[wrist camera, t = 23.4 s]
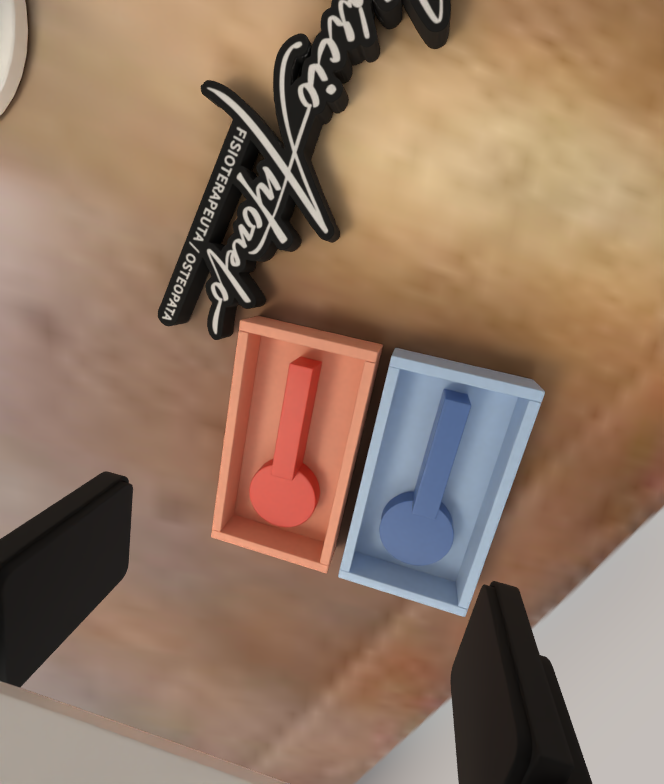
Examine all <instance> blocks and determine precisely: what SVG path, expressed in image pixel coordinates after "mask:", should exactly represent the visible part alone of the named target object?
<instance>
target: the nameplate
mask: <svg viewBox="0 0 664 784" xmlns="http://www.w3.org/2000/svg"><path fill="white" fill-rule="evenodd" d="M402 5H403V6H404V8H405V9H406V11H407V13H408V15H409V17H410V19H411V21H412V23H413V24H414V26H415V28H416V30H417V31H418V33H419V35H420V36H421V38H422V39H423V41H424V42H425V43H426V44H427V46H428V47H430V48H433V49H438V48H440V47H442V46H444V45H445V43H446V42H447V39H448V35H449V25H450V12H451V3H450V0H332V3H331V7H330V8H329V9H327V10H326V11H325V12H324V13H323V15H322V18H321V32H320V33H319V34H318V35H317V36H316V38H315V40H314V42H313V44H312V45H311V43H310V41H309V39H308V37H307V36H306V35H304V34H297V35H294V36H292V37H290V38H289V39H288V40H287V41H286V42H285V43H284V44H283V45H282V47H281V48H280V50H279V52H278V54H277V57H276V61H275V66H274V77H273V91H274V102H275V109H276V115H277V120H278V124H279V129H280V132H281V136H282V139H283V143H284V145H283V144H282V142H281V141H280V140H279V138H278V137H277V136H276V135H275V133H274V132H273V131H272V130H271V128H270V127H269V126H268V125H267V124H266V123H265V121H264V120H263V119H262V118H261V117H260V116H259V115H258V114H257V113H256V112H255V111H254V110H253V109H252V108H251V107H250V106H249V105H248V104H247V103H246V102H245V101H244V100H243V99H241V98H240V97H239V96H238V95H237V94H236V93H234V92H233V91H232V90H230V89H229V88H227V87H226V86H224V85H222V84H220V83H218V82H215V81H211V80H207V81H205V82H204V84H203V85H201V92H202V94H203V95H204V96H206V97H207V98H208V99H209V100H210V101H212V102H213V103H214V104H215V105H217V106H218V107H220V108H222V109H223V110H224V111H225V112H226V113H227V114H229V115H230V116H231V117H232V119H233V121H232V124H231V126H230V129H229V131H228V133H227V136H226V139H225V141H224V144H223V146H222V149H221V151H220V154H219V157H218V159H217V162H216V164H215V167H214V169H213V172H212V174H211V177H210V180H209V182H208V185H207V187H206V190H205V192H204V195H203V198H202V200H201V203H200V205H199V208H198V210H197V213H196V215H195V218H194V221H193V223H192V226H191V228H190V231H189V233H188V236H187V239H186V241H185V244H184V246H183V249H182V251H181V254H180V257H179V259H178V262H177V264H176V267H175V269H174V272H173V274H172V277H171V280H170V282H169V285H168V287H167V290H166V292H165V295H164V298H163V300H162V303H161V305H160V307H159V310H158V318H159V320H160V321H161V322H162V323H163V324H164V325H166V326H173V325H178V324H183V323H186V322H188V321H189V319H190V317H191V315H192V312H193V310H194V307H195V305H196V302H197V300H198V297H199V295H200V293H201V290H202V288H203V285H204V283H205V281H206V278H207V276H208V274H209V271H210V273H211V278H210V279H209V280H208V281H207V283H206V292H207V295H208V297H209V299H210V300H211V302H212V305H211V308H210V311H209V315H208V321H207V327H208V331H209V334H210V336H211V337H212V338H213V339H214V340H219V339H222V338H225V337H229V336H231V335H232V334H233V327H234V320H235V313H236V309H237V305H241V306H242V307H243V308H246V309H250V308H255V307H260V306H263V305H264V304H265V302H266V298H265V296H264V294H263V293H262V291H261V290H260V288H259V287H258V285H257V284H256V283H255V281H254V280H253V279H252V277H251V276H250V275H249V273H250V272H253V271H254V269H255V267H256V261H260V262H265V261H268V260H270V259H271V258H272V257H273V256H274V254H275V253H276V251H277V249H280V250H284V251H290V252H292V251H295V250H296V249H298V248H299V246H300V245H301V238H300V236H299V234H298V233H297V231H296V230H295V229H294V227H293V226H292V224H291V223H290V218H291V217H292V214H293V211H294V208H295V205H297V206H298V208H299V209H300V210H301V212H302V213H303V215H304V216H305V218H306V219H307V221H308V222H309V224H310V225H311V227H312V228H313V229H314V230H315V232H316V233H317V234H318V236H319V237H320V238H321V239H323V240H326V241H328V242H335V241H337V240H338V239H339V237H340V231H339V228H338V226H337V225H336V222H335V219H334V217H333V215H332V212H331V210H330V207H329V205H328V202H327V200H326V198H325V196H324V193H323V191H322V188H321V186H320V183H319V180H318V178H317V175H316V173H315V170H314V167H313V165H312V162H311V158H312V155H313V152H314V149H315V146H316V143H317V140H318V138H319V135H320V132H321V129H322V126H323V125H324V124H327V123H329V121H330V120H331V118H332V114H333V112H334V113H340V112H342V111H344V110H345V108H346V107H347V105H348V96H347V94H346V91H345V89H344V87H343V85H342V84H343V83H346V82H348V81H349V80H350V79H351V77H352V65H357V64H360V63H362V62H363V60H366V61H367V62H374V61H376V60H377V59H378V57H379V54H380V46H379V41H378V36H377V31H376V27H375V23H374V20H375V15H374V13H375V14H376V16H377V18H378V19H379V21H380V22H381V24H382V25H383V26H384V27H385V28H386V29H392V28H394V27H396V26H397V25H398V24H399V23H400V22H401V20H402ZM259 152H260V153H261V154H262V155H263V157H264V158H265V159H264V160H261V161H260V162H259V163H258V164H257V166H256V169H257V172H258V174H259V176H258V177H257V175H256V174H255V173H254V172H252V168H253V166H254V164H255V161H256V159H257V156H258V154H259ZM242 194H243V195H244V197H245V198H246V200H245V201H243V202H242V203H241V204H240V205H239V207H238V210H237V219H236V220H235V221H234V223H233V231H234V233H233V234H232V235H231V236H230V237H229V239H228V241H227V245H223V244H221V242H222V240H223V238H224V235H225V233H226V230H227V228H228V226H229V223H230V221H231V219H232V216H233V214H234V211H235V209H236V207H237V204H238V202H239V199H240V197H241V195H242Z"/></svg>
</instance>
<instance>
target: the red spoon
mask: <svg viewBox="0 0 664 784" xmlns="http://www.w3.org/2000/svg"><path fill="white" fill-rule="evenodd" d="M321 366H322V361H318V360H314V359H310V358H306V357H302V356H300V357H299V358H297V359H295V360H294V361H292V362H291V363H290V364H289V369H288V375H287V381H286V387H285V393H284V399H283V405H282V410H281V416H280V422H279V428H278V434H277V440H276V446H275V452H274V458H273V459H271V460H269V461H268V462H266V463H265V464H264V465H263V466H262V467H261V468H260V469H259V470H258V471H257V472H256V474H255V475H254V476H253V478H252V480H251V483H250V488H249V495H250V500H251V503H252V505H253V507H254V509H255V511H256V512H257V513H258V514H259V515H260V516H261V517H262V518H263V519H264V520H265V521H267V522H268V523H270V524H272V525H275V526H279V527H285V528H289V527H295V526H298V525H301V524H303V523H304V522H306V521H307V520H308V519H309V518H310V517H311V515H312V514H313V512H314V510H315V508H316V506H317V504H318V501H319V497H320V487H319V483H318V480H317V478H316V476H315V474H314V473H313V472H312V470H311V469H310V468H309V467H308V466H306V465H305V464H304V463H303V460H304V455H305V449H306V444H307V439H308V434H309V429H310V423H311V418H312V413H313V408H314V403H315V397H316V392H317V387H318V382H319V377H320V371H321Z"/></svg>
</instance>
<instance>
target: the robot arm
mask: <svg viewBox="0 0 664 784" xmlns="http://www.w3.org/2000/svg"><path fill="white" fill-rule="evenodd" d="M27 40H28V24H27V10H26V2H25V0H0V115H1V114H2V113H3V112H4V111H5V109H6V108H7V106H8V105H9V103H10V102H11V100H12V98H13V97H14V95H15V92H16V90H17V87H18V85H19V82H20V80H21V77H22V74H23V69H24V64H25V60H26V55H27ZM132 495H133V487H132V485H131V484H129V481H128V478H127V477H125V476H122V475H118V474H114V473H111V472H103V473H101V474H99V475H98V476H96V477H95V478H93V479H92V480H90V481H89V482H87V483H85V484H84V485H82V486H81V487H79V488H78V489H76V490H75V491H73V492H72V493H70V494H69V495H67V496H66V497H64V498H63V499H61V500H59V501H58V502H56V503H55V504H53V505H52V506H50V507H49V508H47V509H46V510H44V511H43V512H41V513H40V514H38V515H37V516H35V517H33V518H32V519H30V520H29V521H27V522H26V523H24V524H23V525H21V526H20V527H18V528H17V529H15V530H14V531H12V532H11V533H9V534H7V535H6V536H4V537H3V538H1V539H0V784H289V783H286V782H284V781H281V780H278V779H275V778H273V777H270V776H267V775H264V774H262V773H259V772H256V771H253V770H251V769H248V768H245V767H242V766H240V765H237V764H234V763H231V762H228V761H226V760H223V759H220V758H217V757H215V756H212V755H209V754H206V753H203V752H201V751H198V750H195V749H192V748H189V747H187V746H184V745H181V744H178V743H175V742H173V741H170V740H167V739H164V738H161V737H159V736H156V735H153V734H150V733H147V732H145V731H142V730H139V729H136V728H133V727H131V726H128V725H125V724H122V723H119V722H117V721H114V720H111V719H108V718H105V717H102V716H99V715H97V714H94V713H91V712H88V711H85V710H82V709H79V708H77V707H74V706H71V705H68V704H65V703H62V702H59V701H57V700H54V699H51V698H48V697H45V696H42V695H40V694H37V693H34V692H31V691H28V690H25V689H22V688H20V687H21V686H22V685H23V684H24V683H25V682H26V681H27V680H28V679H29V677H30V676H31V675H32V674H33V673H34V672H35V671H36V670H37V669H38V668H39V667H40V666H41V665H42V664H43V663H44V662H45V661H46V659H47V658H48V657H49V656H50V655H51V654H52V653H53V652H54V651H55V650H56V649H57V648H58V647H59V646H60V645H61V644H62V642H63V641H64V640H65V639H66V638H67V637H68V636H69V635H70V634H71V633H72V632H73V631H74V630H75V629H76V628H77V627H78V626H79V624H80V623H81V622H82V621H83V620H84V619H85V618H86V617H87V616H88V615H89V614H90V613H91V612H92V611H93V610H94V609H95V607H96V606H97V605H98V604H99V603H100V602H101V601H102V600H103V599H104V598H105V597H106V596H107V595H108V594H109V593H110V592H111V591H112V589H113V588H114V587H115V586H116V585H117V584H118V583H119V582H120V581H121V580H122V579H123V577H124V576H125V574H126V572H127V569H128V563H129V546H130V529H131V512H132ZM451 694H452V706H453V718H454V731H455V743H456V755H457V768H458V780H459V784H592V781H591V778H590V775H589V772H588V769H587V767H586V764H585V760H584V758H583V755H582V752H581V749H580V746H579V743H578V740H577V737H576V734H575V731H574V728H573V725H572V722H571V720H570V716H569V713H568V710H567V707H566V704H565V702H564V699H563V696H562V693H561V690H560V687H559V684H558V681H557V678H556V675H555V672H554V669H553V666H552V664H551V662H550V660H549V659H548V658H547V657H545V656H541V655H539V651H538V648H537V645H536V642H535V639H534V636H533V633H532V629H531V626H530V623H529V620H528V617H527V613H526V610H525V607H524V604H523V601H522V598H521V594H520V591H519V589H518V588H517V587H514V586H510V585H507V584H503V583H500V582H496V581H492V582H491V584H490V586H487V585H483V586H482V588H481V590H480V593H479V595H478V598H477V601H476V604H475V606H474V609H473V612H472V614H471V617H470V620H469V623H468V625H467V628H466V631H465V634H464V636H463V639H462V642H461V645H460V647H459V650H458V653H457V655H456V658H455V661H454V664H453V667H452V671H451Z"/></svg>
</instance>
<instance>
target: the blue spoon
mask: <svg viewBox="0 0 664 784" xmlns="http://www.w3.org/2000/svg"><path fill="white" fill-rule="evenodd" d="M470 409H471V402H470V399H469V396H468V395H467V394H464V393H460V392H456V391H452V390H448V389H443V392H442V396H441V399H440V403H439V406H438V410H437V413H436V417H435V420H434V423H433V427H432V430H431V434H430V437H429V441H428V444H427V448H426V451H425V454H424V458H423V461H422V465H421V468H420V472H419V475H418V479H417V482H416V485H415V489H414V492H406V493H402V494H399V495H397V496H396V497H394V498H392V499H391V500H390V501H389V502H388V503H387V504H386V506H385V508H384V509H383V512H382V516H381V521H380V526H379V534H380V539H381V542H382V544H383V546H384V547H385V549H386V550H387V551H388V552H389V553H390V555H392V556H393V557H394V558H396V559H397V560H399V561H401V562H403V563H406V564H409V565H415V566H425V565H430V564H433V563H436V562H438V561H439V560H441V559H442V558H443V557H445V556H446V555H447V553H448V552H449V551H450V549H451V547H452V545H453V541H454V530H453V521H452V517H451V514H450V512H449V510H448V509H447V507H446V506H445V505H444V504H443V503H442V499H443V495H444V492H445V489H446V486H447V483H448V480H449V476H450V473H451V470H452V467H453V464H454V460H455V457H456V454H457V451H458V448H459V444H460V441H461V438H462V435H463V432H464V429H465V425H466V422H467V419H468V416H469V413H470Z"/></svg>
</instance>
